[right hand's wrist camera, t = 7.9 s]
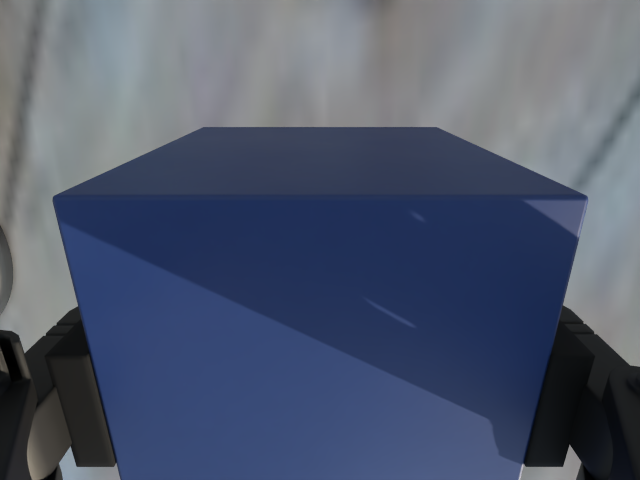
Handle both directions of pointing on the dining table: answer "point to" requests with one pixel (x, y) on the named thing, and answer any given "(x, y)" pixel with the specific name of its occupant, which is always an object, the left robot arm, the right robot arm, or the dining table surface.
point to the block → (320, 303)
